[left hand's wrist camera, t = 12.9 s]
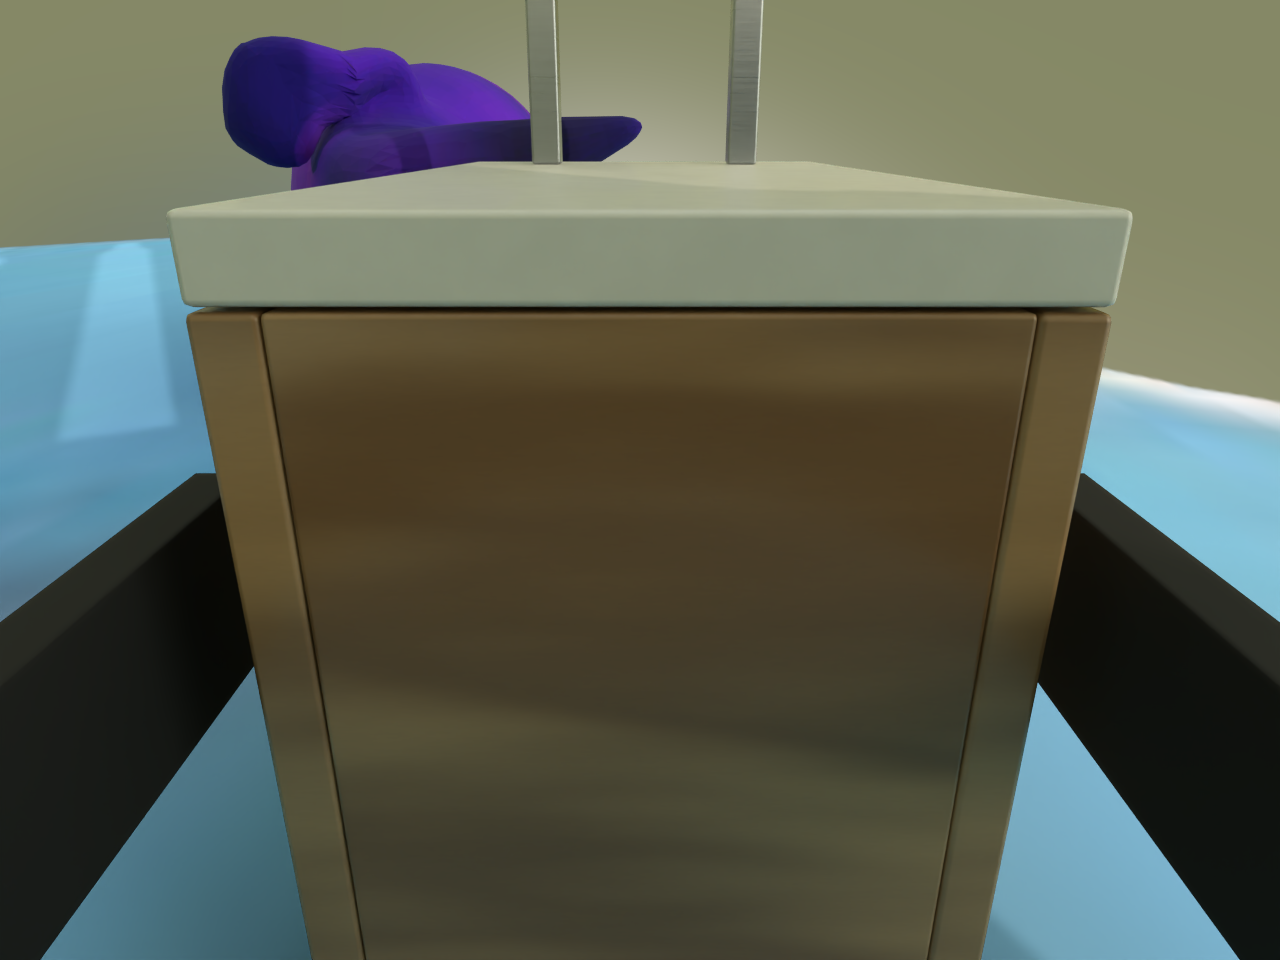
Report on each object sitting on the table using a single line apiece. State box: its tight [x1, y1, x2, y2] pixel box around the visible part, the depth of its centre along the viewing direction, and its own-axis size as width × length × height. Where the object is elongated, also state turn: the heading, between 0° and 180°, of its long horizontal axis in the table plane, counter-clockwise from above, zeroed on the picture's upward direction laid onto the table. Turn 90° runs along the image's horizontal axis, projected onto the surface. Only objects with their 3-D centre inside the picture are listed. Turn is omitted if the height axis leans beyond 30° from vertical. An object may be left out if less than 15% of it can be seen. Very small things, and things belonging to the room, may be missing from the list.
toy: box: [222, 36, 642, 191], centre depth 44 cm, size 16×18×27 cm
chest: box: [186, 307, 1111, 960], centre depth 18 cm, size 16×9×10 cm, turn 0°
